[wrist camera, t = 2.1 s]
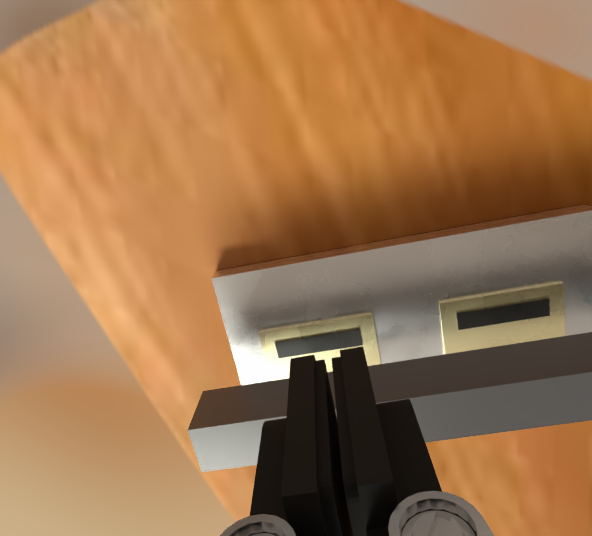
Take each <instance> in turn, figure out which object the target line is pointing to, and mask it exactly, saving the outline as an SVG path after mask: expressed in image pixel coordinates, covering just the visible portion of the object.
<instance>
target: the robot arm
mask: <svg viewBox="0 0 592 536" xmlns="http://www.w3.org/2000/svg"><path fill="white" fill-rule="evenodd" d="M332 369H333V380H334V391H335V401H336V411H335V406H334V402H333V397H332V392H331V387H330V383H329V378H328V373H327V368H326V364H325V360H324V359H323V360H317V361H316V358H315V355H308V356H302V357H296V358H291V360H290V372H289V387H288V402H287V417H286V418H282V419H276V420H269V421H265V422H264V423H263V426H262V432H261V440H260V447H259V454H258V461H257V468H256V475H255V483H254V490H253V497H252V504H251V511H250V516H248V517H246V518H244V519H241V520H239V521H237V522H235V523H234V524H233V525H231V526H230V527H228V528H227V529H226V530H225V531H224V532H223V533H222V534H221V535H220V536H494V534H493V533H492V531H491V529H490V528H489V526H488V525H487V523H486V521H485V520H484V518H483V517H482V515H481V514H480V513H479V512H478V511H477V510H476V508H475V507H474V506H473V505H472V504H470V503H469V502H467V501H466V500H464V499H463V498H461V497H459V496H456V495H453V494H450V493H448V492H442V490H441V487H440V485H439V482H438V479H437V476H436V473H435V470H434V467H433V464H432V461H431V458H430V455H429V453H428V450H427V447H426V444H425V441H424V438H423V435H422V432H421V429H420V426H419V424H418V421H417V418H416V415H415V412H414V409H413V406H412V403H411V401H410V399H404V400H398V401H391V402H385V403H378V404H376V401H375V396H374V392H373V388H372V383H371V379H370V374H369V370H368V366H367V361H366V357H365V352H364V348H363V346H362V347H356V348H350V349H344V350H340V357H335V358H332ZM336 412H337V416H336Z"/></svg>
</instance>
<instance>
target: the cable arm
mask: <svg viewBox="0 0 592 536" xmlns="http://www.w3.org/2000/svg"><path fill="white" fill-rule="evenodd" d="M368 370H369V374H370V379H371V383H372V388H373V392H374V396H375V401H376V404H378V403H385V402H391V401H398V400H404V399H410V401H411V403H412V406H413V409H414V412H415V415H416V418H417V421H418V424H419V426H420V429H421V432H422V435H423V438H424V441H425V442H432V441H439V440H447V439H454V438H462V437H469V436H477V435H484V434H492V433H499V432H507V431H514V430H522V429H529V428H537V427H544V426H552V425H559V424H567V423H574V422H582V421H589V420H592V332H588V333H581V334H575V335H568V336H562V337H555V338H549V339H542V340H536V341H529V342H523V343H516V344H509V345H503V346H496V347H490V348H483V349H477V350H470V351H464V352H457V353H450V354H444V355H437V356H431V357H424V358H418V359H411V360H405V361H398V362H392V363H385V364H378V365H372V366H368ZM327 373H328V378H329V383H330V387H331V392H332V397H333V402H334V406H335V411H336V401H335V391H334V380H333V372H327ZM288 387H289V378H287V379H280V380H274V381H267V382H261V383H254V384H247V385H241V386H234V387H228V388H221V389H215V390H208V391H203V393H202V395H201V398H200V400H199V403H198V405H197V408H196V411H195V413H194V416H193V418H192V421H191V423H190V426H189V428H188V432H189V435H190V438H191V441H192V444H193V447H194V450H195V453H196V456H197V459H198V462H199V465H200V468H201V471H202V472H207V471H214V470H222V469H229V468H237V467H244V466H252V465H257V461H258V454H259V447H260V440H261V432H262V426H263V423H264V422H265V421H269V420H276V419H282V418H286V417H287V402H288ZM336 416H337V412H336Z"/></svg>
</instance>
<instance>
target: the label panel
mask: <svg viewBox="0 0 592 536" xmlns="http://www.w3.org/2000/svg"><path fill="white" fill-rule="evenodd" d="M212 282H213V286H214V289H215V293H216V296H217V300H218V303H219V307H220V310H221V314H222V318H223V321H224V325H225V328H226V332H227V335H228V339H229V343H230V346H231V350H232V353H233V357H234V360H235V364H236V368H237V371H238V375H239V378H240V382H241V385H247V384H254V383H261V382H267V381H274V380H280V379H287V378H289V372H290V360H291V358H296V357H302V356H308V355H315V358H316V361H317V360H323V359H324V360H325V364H326V368H327V372H333V369H332V358H335V357H340V350H344V349H350V348H356V347H362V346H363V348H364V352H365V357H366V361H367V366H372V365H378V364H385V363H392V362H398V361H405V360H411V359H418V358H424V357H431V356H437V355H444V354H450V353H457V352H464V351H470V350H477V349H483V348H490V347H496V346H503V345H509V344H516V343H523V342H529V341H536V340H542V339H549V338H555V337H562V336H568V335H575V334H581V333H588V332H592V206H589V205H587V204H583V205H578V206H572V207H566V208H561V209H555V210H550V211H544V212H539V213H533V214H528V215H522V216H517V217H511V218H506V219H500V220H495V221H489V222H484V223H478V224H472V225H467V226H461V227H456V228H450V229H445V230H439V231H434V232H428V233H423V234H417V235H412V236H406V237H401V238H395V239H390V240H384V241H378V242H373V243H367V244H362V245H356V246H351V247H345V248H340V249H334V250H329V251H323V252H318V253H312V254H307V255H301V256H296V257H290V258H284V259H279V260H273V261H268V262H262V263H257V264H251V265H246V266H240V267H235V268H229V269H224V270H218V271H216V272H215V273H214V275H213V277H212Z"/></svg>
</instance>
